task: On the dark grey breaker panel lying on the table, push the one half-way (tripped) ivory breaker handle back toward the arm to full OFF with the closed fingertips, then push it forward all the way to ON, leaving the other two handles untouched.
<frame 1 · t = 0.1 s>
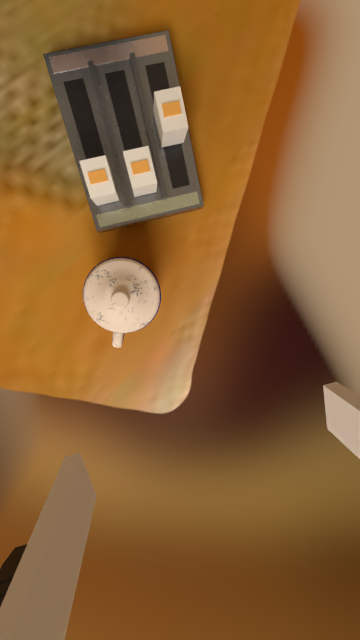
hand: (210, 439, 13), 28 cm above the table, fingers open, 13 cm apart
breaker a: (100, 182, 31), point 4 cm above the table, slide at 5.0 cm
breaker b: (140, 173, 31), point 4 cm above the table, slide at 5.0 cm
panel: (131, 143, 34), on the table
teacup with lid: (126, 298, 39), on the table
breaker c: (170, 118, 30), point 4 cm above the table, slide at 0.0 cm
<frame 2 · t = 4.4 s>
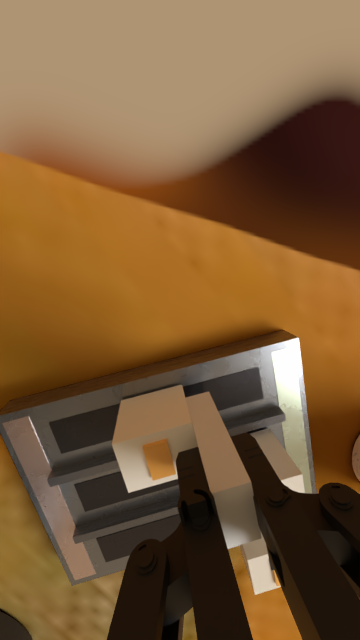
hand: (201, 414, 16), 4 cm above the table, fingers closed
breaker a: (268, 535, 17), point 4 cm above the table, slide at 5.0 cm
breaker b: (257, 477, 16), point 4 cm above the table, slide at 5.0 cm
panel: (174, 450, 20), on the table
breaker c: (158, 433, 15), point 4 cm above the table, slide at -0.2 cm, touching gripper
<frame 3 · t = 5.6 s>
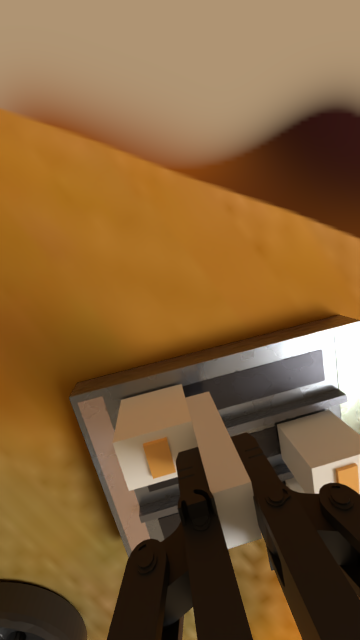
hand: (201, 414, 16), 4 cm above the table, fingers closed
breaker a: (330, 513, 18), point 4 cm above the table, slide at 5.0 cm
breaker b: (324, 455, 17), point 4 cm above the table, slide at 5.0 cm
panel: (230, 433, 20), on the table
breaker c: (158, 432, 15), point 4 cm above the table, slide at -4.9 cm, touching gripper
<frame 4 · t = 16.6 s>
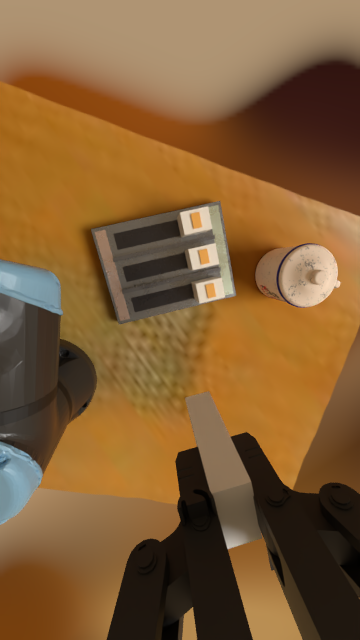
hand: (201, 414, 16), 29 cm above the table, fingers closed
breaker a: (207, 289, 39), point 4 cm above the table, slide at 5.0 cm
breaker b: (201, 257, 38), point 4 cm above the table, slide at 5.0 cm
panel: (167, 264, 42), on the table
teacup with lid: (284, 275, 45), on the table
breaker c: (193, 222, 37), point 4 cm above the table, slide at 4.9 cm
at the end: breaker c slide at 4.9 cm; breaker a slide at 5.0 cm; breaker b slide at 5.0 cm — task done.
